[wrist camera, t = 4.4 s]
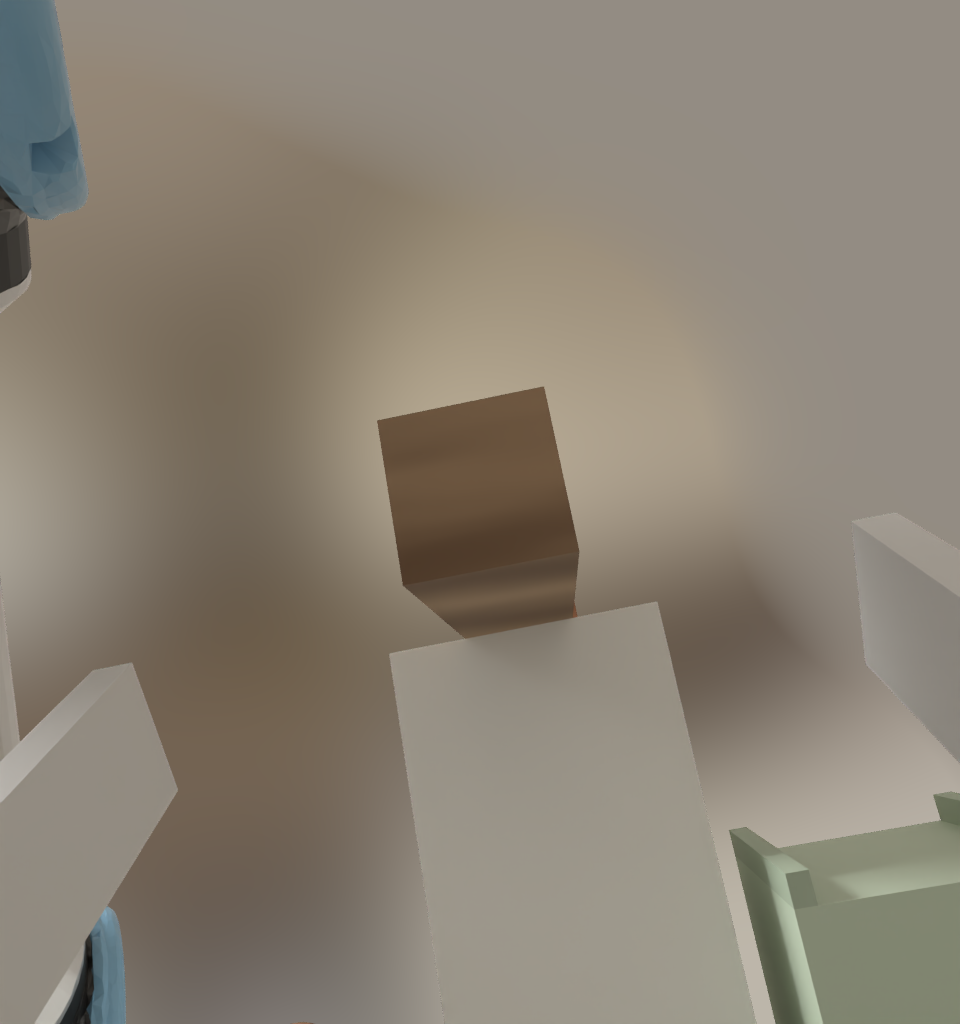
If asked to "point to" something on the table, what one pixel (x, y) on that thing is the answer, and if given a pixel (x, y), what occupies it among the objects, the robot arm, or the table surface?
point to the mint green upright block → (859, 923)
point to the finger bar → (482, 513)
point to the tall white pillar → (565, 829)
